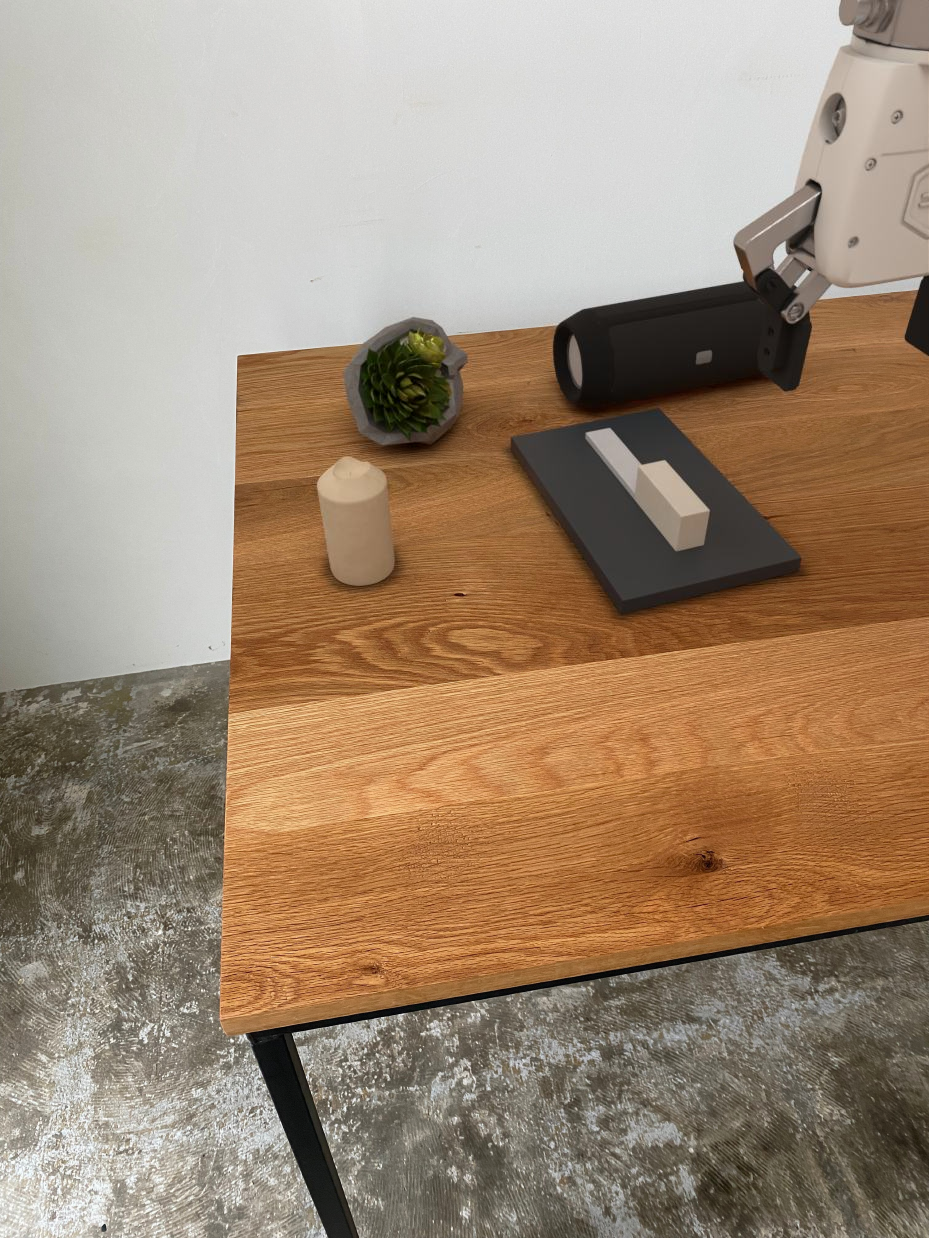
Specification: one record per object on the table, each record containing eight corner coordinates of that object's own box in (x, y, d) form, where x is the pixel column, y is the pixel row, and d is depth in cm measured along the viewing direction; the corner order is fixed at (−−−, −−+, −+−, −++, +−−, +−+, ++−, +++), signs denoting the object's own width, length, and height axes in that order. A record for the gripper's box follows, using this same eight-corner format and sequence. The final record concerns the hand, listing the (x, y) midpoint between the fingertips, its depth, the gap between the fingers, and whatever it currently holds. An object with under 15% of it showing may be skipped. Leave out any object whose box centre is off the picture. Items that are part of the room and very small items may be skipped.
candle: (324, 554, 81) (308, 455, 74) (386, 540, 82) (375, 442, 75) (338, 592, 77) (321, 492, 70) (402, 578, 78) (392, 478, 72)
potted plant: (477, 362, 99) (518, 391, 86) (399, 454, 101) (426, 496, 88) (392, 282, 94) (422, 300, 81) (311, 381, 96) (327, 414, 83)
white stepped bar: (704, 545, 78) (710, 510, 76) (675, 552, 77) (681, 516, 75) (609, 433, 91) (612, 400, 89) (585, 438, 91) (587, 405, 89)
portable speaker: (584, 429, 95) (589, 337, 88) (547, 385, 102) (550, 296, 95) (803, 385, 100) (824, 294, 94) (754, 346, 107) (771, 259, 101)
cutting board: (657, 420, 96) (659, 407, 95) (798, 571, 77) (802, 557, 76) (510, 450, 93) (510, 436, 92) (621, 614, 74) (622, 600, 73)
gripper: (825, 46, 37) (750, 425, 49) (1172, 6, 41) (1026, 368, 52) (730, 14, 43) (683, 362, 54) (1044, -19, 46) (937, 315, 58)
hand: (852, 365), depth 53 cm, fingers open, 9 cm apart
